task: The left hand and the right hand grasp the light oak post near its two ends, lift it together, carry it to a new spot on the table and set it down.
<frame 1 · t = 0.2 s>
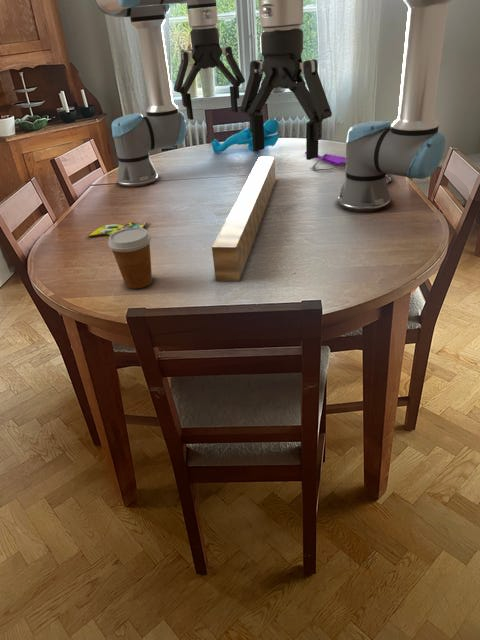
left hand: (213, 115, 136), 28 cm above the table, tool pointing down, fingers open, 13 cm apart
right hand: (284, 154, 95), 28 cm above the table, tool pointing down, fingers open, 13 cm apart
disposable coffee cup: (138, 282, 113), on the table
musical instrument: (322, 163, 185), on the table
toy: (246, 151, 210), on the table
toy 2: (118, 230, 143), on the table
post: (252, 219, 142), on the table
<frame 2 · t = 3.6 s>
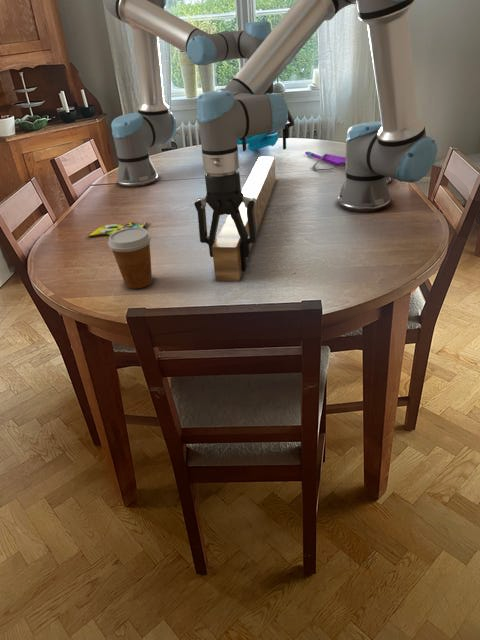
left hand: (264, 149, 161), 12 cm above the table, tool pointing down, fingers open, 13 cm apart
right hand: (231, 268, 115), 1 cm above the table, tool pointing down, fingers closed on post, 6 cm apart
post: (252, 219, 142), on the table, touching right hand
everything else where it was.
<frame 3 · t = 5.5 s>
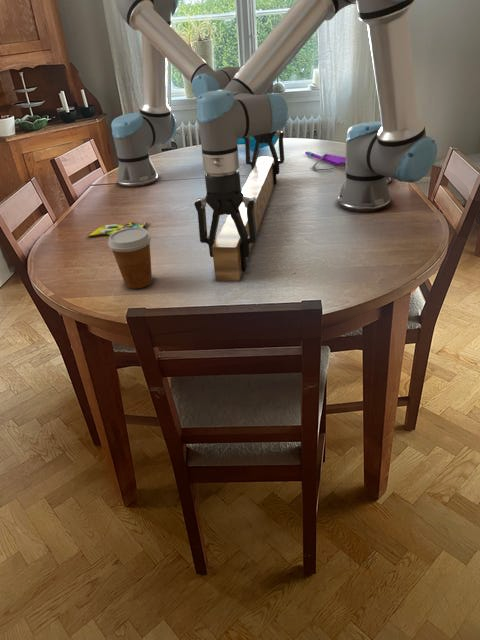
left hand: (266, 183, 168), 1 cm above the table, tool pointing down, fingers closed on post, 6 cm apart
right hand: (231, 268, 115), 1 cm above the table, tool pointing down, fingers closed on post, 6 cm apart
post: (252, 219, 142), on the table, touching left hand, right hand
everything else where it was.
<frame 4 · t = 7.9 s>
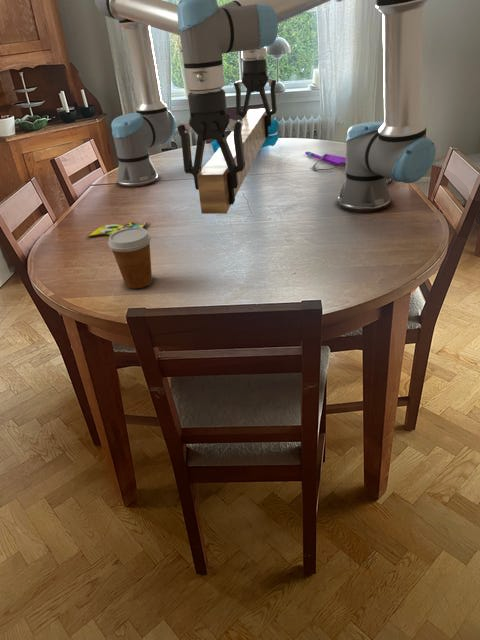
left hand: (257, 136, 161), 16 cm above the table, tool pointing down, fingers closed on post, 6 cm apart
right hand: (218, 202, 108), 16 cm above the table, tool pointing down, fingers closed on post, 6 cm apart
post: (242, 165, 135), point 15 cm above the table, touching left hand, right hand
everything else where it was.
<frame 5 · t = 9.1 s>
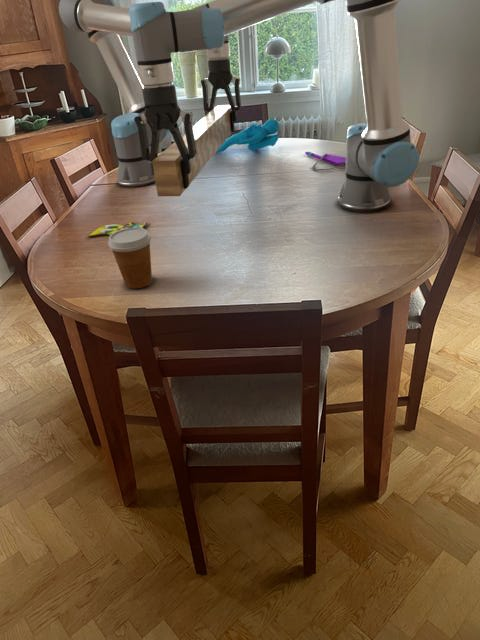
left hand: (224, 131, 173), 16 cm above the table, tool pointing down, fingers closed on post, 6 cm apart
right hand: (174, 186, 120), 16 cm above the table, tool pointing down, fingers closed on post, 6 cm apart
post: (204, 156, 147), point 16 cm above the table, touching left hand, right hand
everything else where it was.
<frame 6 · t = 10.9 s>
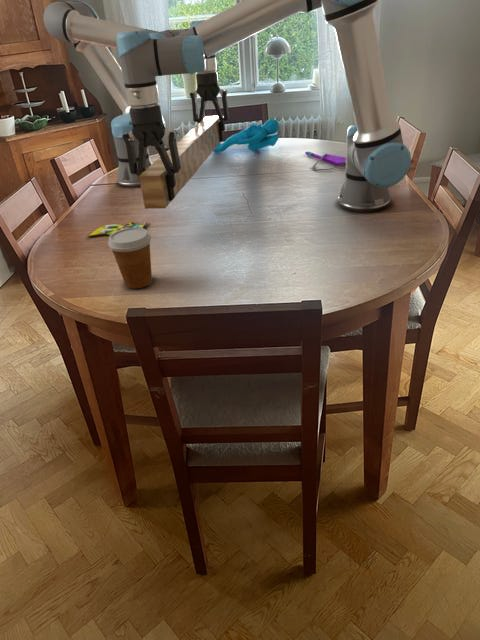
left hand: (213, 140, 181), 12 cm above the table, tool pointing down, fingers closed on post, 6 cm apart
right hand: (160, 199, 128), 12 cm above the table, tool pointing down, fingers closed on post, 6 cm apart
post: (191, 166, 155), point 11 cm above the table, touching left hand, right hand
everything else where it was.
when the left hand's fingers open (1 cm above the table, at t = 12.6 s): post stays where it is, on the table.
when the right hand's fingers open (1 cm above the table, at t = 12.6 s): post stays where it is, on the table.
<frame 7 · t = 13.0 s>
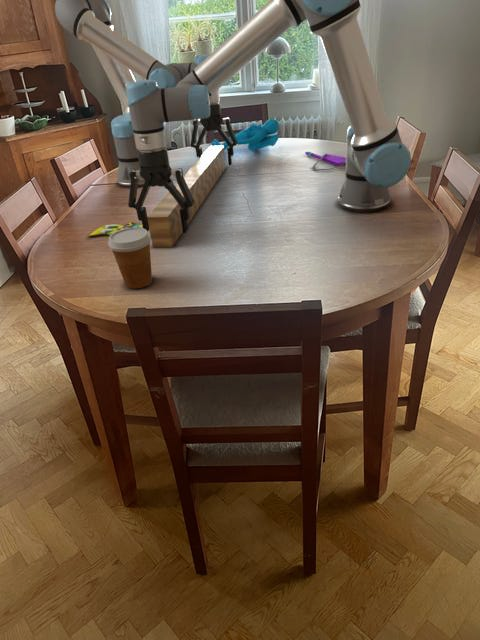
left hand: (216, 165, 186), 3 cm above the table, tool pointing down, fingers open, 10 cm apart
right hand: (166, 231, 133), 3 cm above the table, tool pointing down, fingers open, 10 cm apart
post: (196, 199, 161), on the table
everything else where it was.
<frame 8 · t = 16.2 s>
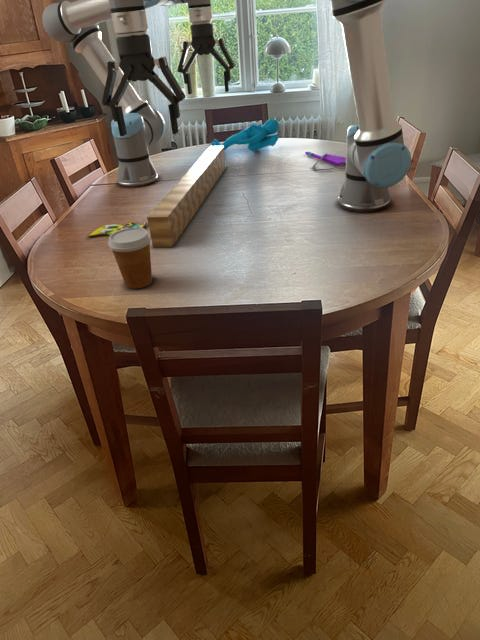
left hand: (208, 92, 172), 28 cm above the table, tool pointing down, fingers open, 13 cm apart
right hand: (149, 134, 119), 28 cm above the table, tool pointing down, fingers open, 13 cm apart
nothing on the table moved.
at the end: post inside the target area (0.1 cm from its centre), on the table; post tilted 0°; post never tilted more than 1° during the clip; both hands held the post at the same time; the left hand is holding nothing; the right hand is holding nothing; post at rest at the end (0.0 cm/s) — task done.
